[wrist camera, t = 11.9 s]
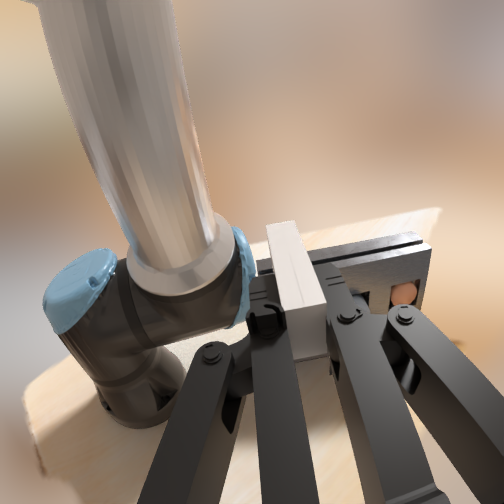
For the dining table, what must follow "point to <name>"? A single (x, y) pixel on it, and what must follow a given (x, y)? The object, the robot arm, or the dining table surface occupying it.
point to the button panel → (374, 269)
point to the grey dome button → (361, 302)
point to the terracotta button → (403, 293)
